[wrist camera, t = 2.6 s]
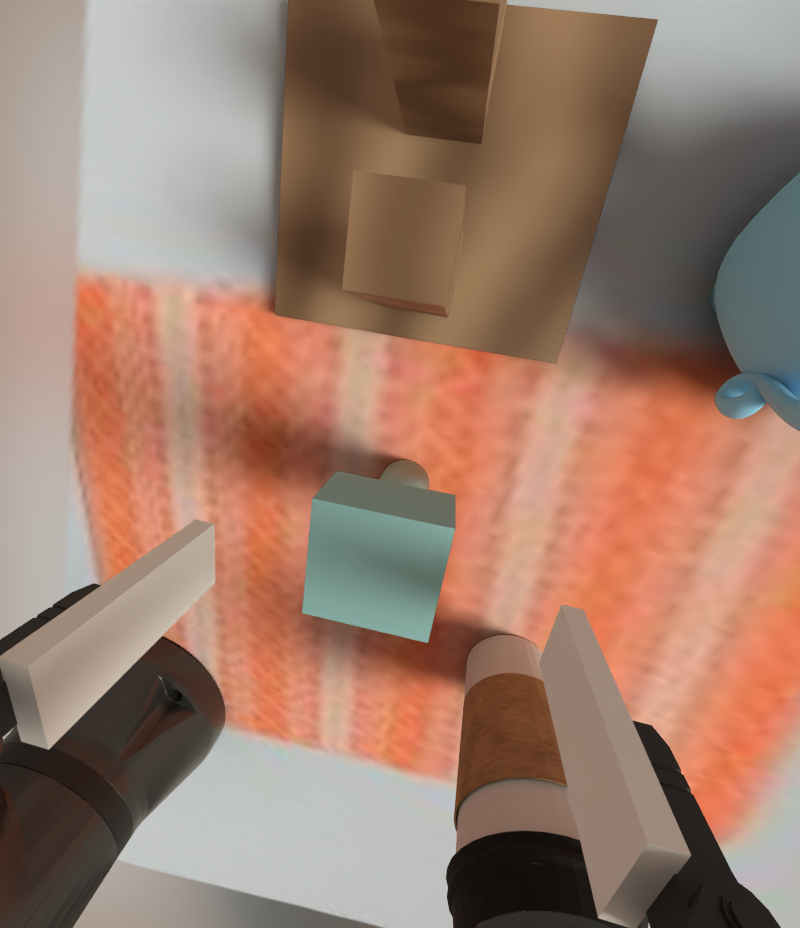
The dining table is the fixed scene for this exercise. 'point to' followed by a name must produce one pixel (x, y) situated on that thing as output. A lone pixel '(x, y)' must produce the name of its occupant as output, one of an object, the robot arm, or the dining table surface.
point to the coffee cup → (514, 803)
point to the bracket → (449, 165)
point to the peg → (379, 550)
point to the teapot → (763, 311)
